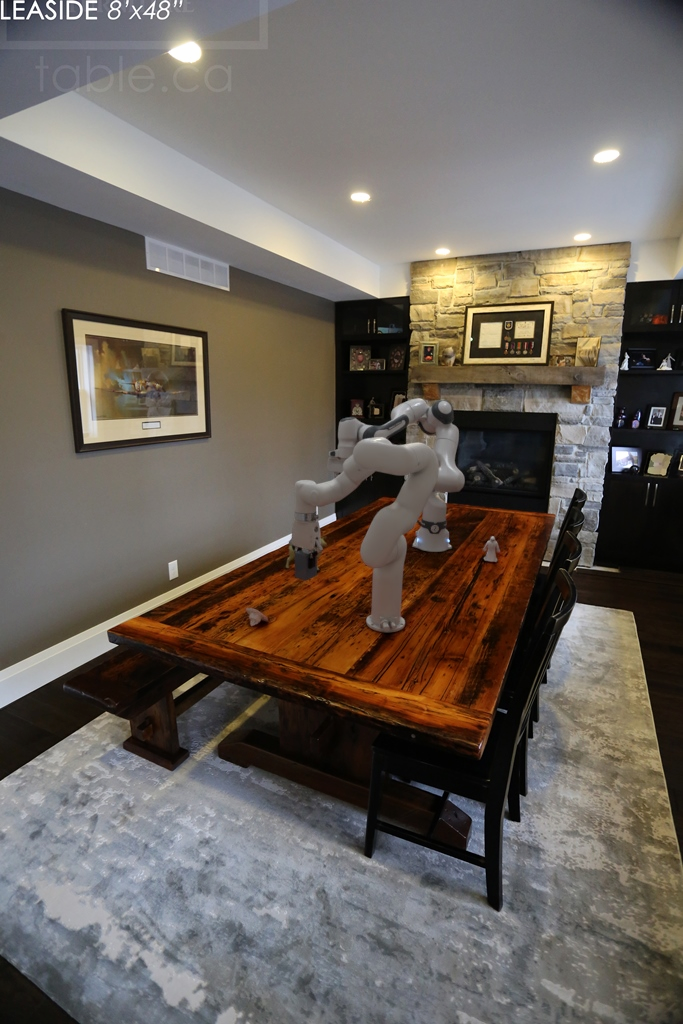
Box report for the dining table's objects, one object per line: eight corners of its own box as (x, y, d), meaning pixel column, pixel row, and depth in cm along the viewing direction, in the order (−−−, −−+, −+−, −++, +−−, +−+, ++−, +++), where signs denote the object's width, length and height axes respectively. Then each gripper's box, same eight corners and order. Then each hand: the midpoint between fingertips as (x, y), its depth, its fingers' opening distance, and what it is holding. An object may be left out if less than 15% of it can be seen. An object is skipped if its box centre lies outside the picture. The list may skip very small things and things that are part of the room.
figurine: (481, 562, 222) (483, 536, 219) (482, 556, 230) (484, 531, 227) (499, 564, 220) (501, 538, 217) (499, 558, 228) (501, 533, 225)
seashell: (251, 634, 162) (235, 615, 161) (262, 623, 165) (246, 604, 164) (262, 630, 156) (245, 610, 155) (273, 618, 159) (257, 599, 158)
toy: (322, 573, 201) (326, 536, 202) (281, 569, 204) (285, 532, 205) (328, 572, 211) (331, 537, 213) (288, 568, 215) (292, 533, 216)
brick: (316, 575, 179) (317, 550, 177) (305, 580, 174) (305, 555, 172) (306, 572, 182) (306, 547, 179) (294, 577, 177) (294, 552, 174)
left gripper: (331, 518, 170) (331, 568, 175) (293, 510, 180) (294, 558, 184) (318, 522, 165) (317, 574, 169) (279, 514, 174) (280, 563, 178)
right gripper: (370, 454, 226) (369, 484, 229) (333, 450, 237) (333, 479, 241) (362, 456, 221) (361, 486, 224) (325, 452, 232) (325, 481, 236)
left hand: (305, 565), depth 177 cm, fingers closed on brick, 5 cm apart
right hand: (346, 482), depth 233 cm, fingers open, 8 cm apart
